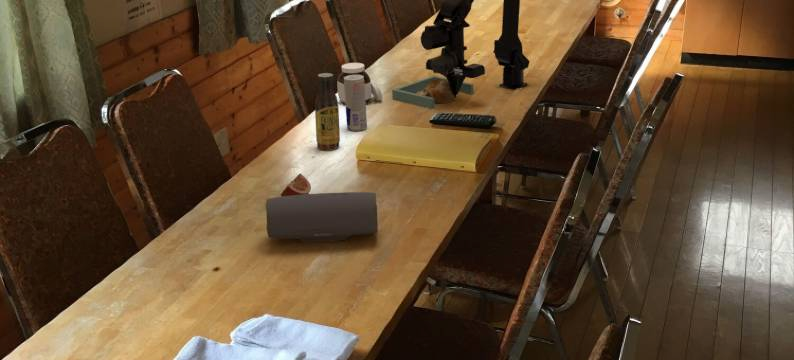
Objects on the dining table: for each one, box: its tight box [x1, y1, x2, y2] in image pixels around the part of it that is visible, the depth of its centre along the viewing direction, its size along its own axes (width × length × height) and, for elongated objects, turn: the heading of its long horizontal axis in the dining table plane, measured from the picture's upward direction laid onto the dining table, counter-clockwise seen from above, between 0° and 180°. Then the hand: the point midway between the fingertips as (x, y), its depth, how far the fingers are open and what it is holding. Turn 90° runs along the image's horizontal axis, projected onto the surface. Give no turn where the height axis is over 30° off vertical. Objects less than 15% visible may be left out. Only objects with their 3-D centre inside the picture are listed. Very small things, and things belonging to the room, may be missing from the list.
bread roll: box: [422, 79, 457, 104], centre depth 284 cm, size 10×10×8 cm
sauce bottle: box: [314, 72, 341, 151], centre depth 247 cm, size 6×6×20 cm
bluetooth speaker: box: [265, 191, 379, 243], centre depth 197 cm, size 23×9×10 cm, turn 92°
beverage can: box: [344, 75, 368, 132], centre depth 261 cm, size 6×6×15 cm
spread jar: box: [336, 62, 383, 106], centre depth 284 cm, size 12×11×12 cm
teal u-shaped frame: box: [391, 75, 474, 110], centre depth 288 cm, size 19×16×3 cm
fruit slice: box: [280, 173, 312, 197], centre depth 218 cm, size 8×7×5 cm
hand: (455, 95), depth 281 cm, fingers closed
